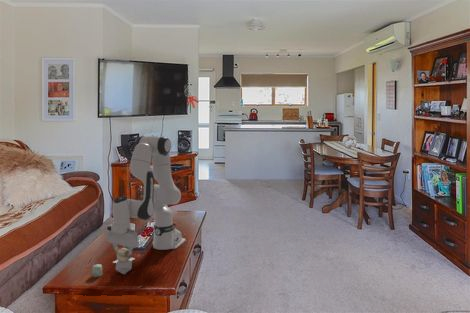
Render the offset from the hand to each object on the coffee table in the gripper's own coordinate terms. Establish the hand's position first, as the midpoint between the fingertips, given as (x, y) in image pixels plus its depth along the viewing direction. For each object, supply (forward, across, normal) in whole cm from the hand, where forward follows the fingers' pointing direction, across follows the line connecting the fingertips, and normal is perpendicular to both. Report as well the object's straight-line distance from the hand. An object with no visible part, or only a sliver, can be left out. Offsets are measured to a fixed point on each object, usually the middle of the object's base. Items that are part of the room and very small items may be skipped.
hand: (123, 252), depth 206 cm
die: (+11, 0, 0) cm, 11 cm away
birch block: (+4, 0, 0) cm, 4 cm away
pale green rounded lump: (+11, +10, +9) cm, 17 cm away
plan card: (+11, +11, -11) cm, 19 cm away
